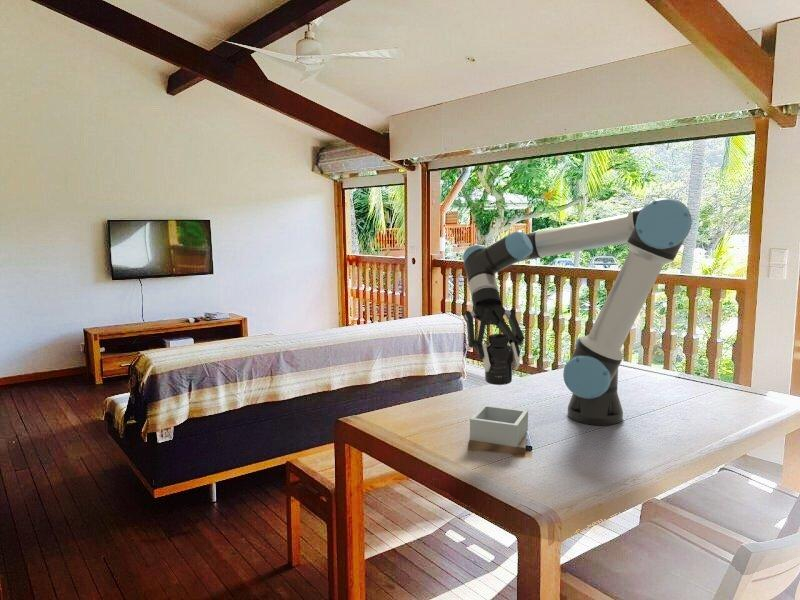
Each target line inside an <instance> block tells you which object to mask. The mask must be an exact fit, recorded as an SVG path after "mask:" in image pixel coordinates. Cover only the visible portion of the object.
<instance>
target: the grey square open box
mask: <svg viewBox="0 0 800 600" xmlns="http://www.w3.org/2000/svg"><path fill="white" fill-rule="evenodd" d="M528 428H529V411H528V410H525V409H520V408H510V407H505V406H504V407H502V406H495V405H486V404H483V405H482V406H481V407H480V408H479V409H478V410H477V411H475V413H474V415H472V416H471V418H470V419H469V439H470V440H474V441H480V442H487V443H493V444H500V445H506V446H513V447H517V446H518V445H519V443H520V442H521V440H522V439H523V437H524V436H525V434H526V433H527V434H528V431H529V429H528Z"/></svg>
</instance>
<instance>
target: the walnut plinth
mask: <svg viewBox="0 0 800 600" xmlns="http://www.w3.org/2000/svg"><path fill="white" fill-rule="evenodd" d="M526 435H528V432H527V433H526V434H525V436H524V437H523V439H522V440H521V442H520V443H519V445H518V446H517V447H513V446H506V445H500V444H493V443H487V442H480V441H474V440H470V438H469V440H468V442H467V449H468V451H479V452H489V453H491V452H493V453H501V454H503V453H504V454H514V455H526V449H527V448H526V447H527V438H526Z"/></svg>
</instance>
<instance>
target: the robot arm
mask: <svg viewBox="0 0 800 600" xmlns="http://www.w3.org/2000/svg"><path fill="white" fill-rule="evenodd" d="M692 221H693V220H692V215H691V212H690V209H689V208H688V207H687V206H686V204H684V203H683V202H682V201H680V200H678V199H676V198H672V197H659V198H656V199H652V200H651V201H649V202H648V203H646V204H645V205H644V206H642V207H639V208H633V209H631V210H630V211H629V212H628V213H627V214H623V215H618V216H612V217H607V218H602V219H601V218H600V219H597V220H592V221H586V222H580V223H575V224H571V225H566V226H561V227H556V228H551V229H544V230H539V231H535V232H529V233H526V232H524V231H523V230H522V229H518V230H516V231H513V232H512V233H509V234H507V235H506V236H504V237H503V238H501V239H500V240H498V241H496V242H494V243H492V244H491V245H489V246H487V247H486V246H485V245H481V244H475V246H474V245H471V246H469V247H468V248H466V249H465V251H464V252H463V256H462V259H463V268H464V271H465V274H466V278H467V282H468V287H469V292H470V296H471V302H472V307H473V311H469V310H465V314H464V317H463V319H464V320H465V323H466V330H467V341H468V342H467V343H468V347H469V348H474V349H475V351H476V352H477V356H478V359H479V360H482V362H483V366H484V373H485V372H488V371H489V369H490V362H489V357H488V353H487V348H486V347H487V344H486V343H483V341H484V336H485V335H484V334H485V330H486V326H489V325H492V326H496V327H497V329H499V331H500V332H501V334H505V335H508V344H509V346H510V347H511V349H512V367H513V370H514V371H518V370H519V367H520V365H521V364H520V363H521V362H520V360H519V357H520V355H521V350H520V346H522V344H523V342H524V340H525V336H524V334H523V332H522V329H521V326H520V323H519V322H518V319H517V317H516V309H514V308H511V309H510V310H509V309H508V310H507V309H505V307H504V306H503V305H502V303H503V302H502V299H501V296H500V292H499V287H498V283H497V281H496V280H497V279H496V276H495V274H498V273H499V272H500V271H502V270H505V269H506V268H509V267H510V266H512V265H515V264H517V263H520V262H523V261H529V260H533V259H541V258H545V257H550V256H558V255H563V254H570V253H575V252H581V251H587V250H592V249H600V248H605V247H610V246H617V245H622V244H624V245H625V244H627V247H628V250H629V252H628V254H627V256H626V258H625V260H624V262H623V263H622V266H621V268H620V270H619V272H618V274H617V276H616V278H615V279H614V282H613V284H612V287H611V289H610V291H609V293H608V295H607V297H606V299H605V301H604V303H603V305H602V306H601V309H600V311H599V313H598V315H597V317H596V319H595V320H594V324H593V325H592V328H591V329H590V331H589V334H587V335H583V336H581V337H578V338H576V342H575V345H574V347H575V348H574V350H573V353H572V355H571V357H570V359H569V360H568V361H566V363H565V365H564V368H563V374H562V375H563V376H562V377H563V381H564V383H565V386H566V388H567V389H568V390H569V391H570V392H571V393H572V395H571V398H570V400H569V402H568V405H567V417H569V418H570V419H571V420H574V421H576V422H578V423H583V424H585V425H586V424H587V425H593V426H610V425H616V424H617V425H618V424H620V423H621V422H622V421H623V420H624V419H623V417H624V411H623V407H622V404H621V400H620V397H619V394H618V385H619V383H618V381H619V367H620V365H621V362H622V361H623V359H624V356H623V353H622V350H621V349H622V348H623V345H624V344H625V341H626V339H627V338H628V335H629V334H630V332H631V329H632V328H633V326H634V325H635V321H636V320H637V318H638V316H639V314H640V312H641V310H642V308H643V306H644V304H645V302H646V300H647V298H648V297H649V294H650V292H651V291H652V289H653V286H654V284H655V282H656V281H657V279H658V277H659V275H660V273H661V271H662V269H663V268H664V266H665V265H666V264H669V263H672V262H674V260H675V258H676V256H677V255H678V253H679V250H680V249H681V247H682V245H683V243H684V242H685V239H686V238H687V236H688V235H689V233H690V232H691V228H692V223H693V222H692ZM504 316H505V317H506V319H505V318H504ZM474 318H475V319H477V320H478V321H479V323H480V324H479V328H478V335H477V339H476V338H475V326H474ZM506 320H508V323H509V325H510V327H509V325H508V324H507V322H506Z"/></svg>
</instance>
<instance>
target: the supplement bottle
mask: <svg viewBox="0 0 800 600" xmlns="http://www.w3.org/2000/svg"><path fill="white" fill-rule="evenodd" d="M488 344H489V345H486V348H487V353H488V357H489V362H490V369H489V371H488V372H485V371H484V381H485V382H486V383H487V384H490V385H494V386H495V385H496V386H504V385H509V384H510V383H512V381H513V362H512V349H511V347H510V345H508V344H509V342H508V335H505V334H503V333H493V334H492V333H491V334H489V336H488Z"/></svg>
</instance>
